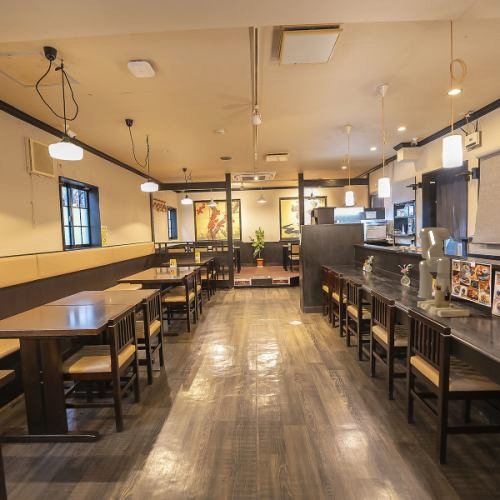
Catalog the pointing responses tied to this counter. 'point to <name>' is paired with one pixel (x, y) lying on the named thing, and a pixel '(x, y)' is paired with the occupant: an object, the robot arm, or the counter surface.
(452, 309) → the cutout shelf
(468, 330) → the counter surface
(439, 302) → the food model
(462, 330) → the counter surface
